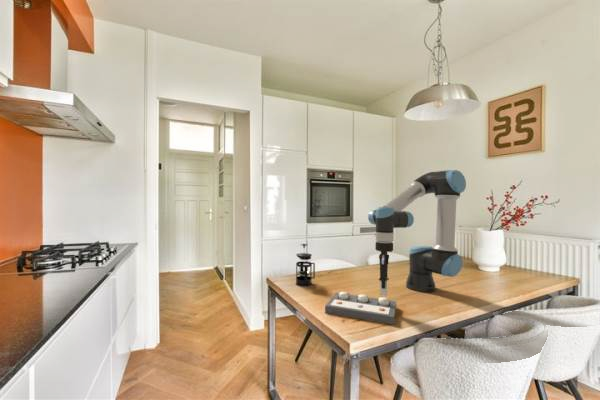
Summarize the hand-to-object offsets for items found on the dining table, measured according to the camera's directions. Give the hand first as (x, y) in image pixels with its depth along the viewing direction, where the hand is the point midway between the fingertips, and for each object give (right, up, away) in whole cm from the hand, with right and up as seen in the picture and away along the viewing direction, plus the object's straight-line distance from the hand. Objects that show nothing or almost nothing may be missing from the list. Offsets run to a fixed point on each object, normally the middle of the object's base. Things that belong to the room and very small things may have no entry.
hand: (383, 294), depth 120 cm
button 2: (0, -5, 0) cm, 5 cm away
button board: (-10, -7, 0) cm, 12 cm away
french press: (-34, -7, +37) cm, 51 cm away
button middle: (-8, -5, +4) cm, 10 cm away
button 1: (-17, -5, +7) cm, 19 cm away
